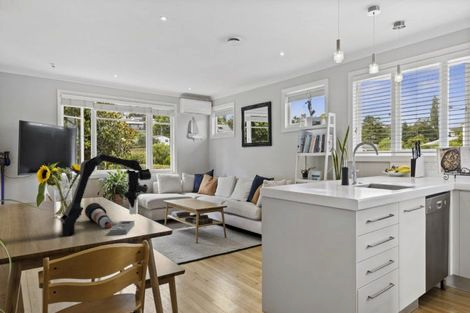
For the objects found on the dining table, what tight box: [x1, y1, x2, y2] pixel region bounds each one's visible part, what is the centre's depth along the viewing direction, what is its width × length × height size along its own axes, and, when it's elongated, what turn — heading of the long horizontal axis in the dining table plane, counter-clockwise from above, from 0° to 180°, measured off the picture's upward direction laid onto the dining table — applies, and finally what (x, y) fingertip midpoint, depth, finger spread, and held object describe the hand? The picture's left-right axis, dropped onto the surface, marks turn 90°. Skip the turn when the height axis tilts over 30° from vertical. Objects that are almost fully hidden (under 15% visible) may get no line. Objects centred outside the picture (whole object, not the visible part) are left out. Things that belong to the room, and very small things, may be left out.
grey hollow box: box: [109, 220, 135, 236], centre depth 163 cm, size 20×8×4 cm, turn 7°
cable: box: [84, 202, 113, 229], centre depth 178 cm, size 10×34×10 cm, turn 39°
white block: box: [128, 199, 139, 215], centre depth 181 cm, size 4×4×8 cm
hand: (133, 206), depth 181 cm, fingers closed on white block, 4 cm apart
